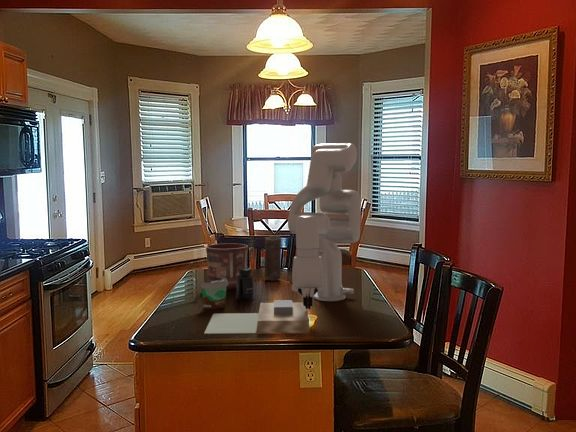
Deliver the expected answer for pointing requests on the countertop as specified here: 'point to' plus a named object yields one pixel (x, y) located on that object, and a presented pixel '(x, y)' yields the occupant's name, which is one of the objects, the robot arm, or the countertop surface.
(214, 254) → the pottery
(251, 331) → the mat
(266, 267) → the candle
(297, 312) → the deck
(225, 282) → the food container
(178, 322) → the countertop surface
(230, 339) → the countertop surface
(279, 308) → the grey flat block
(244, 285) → the supplement bottle
